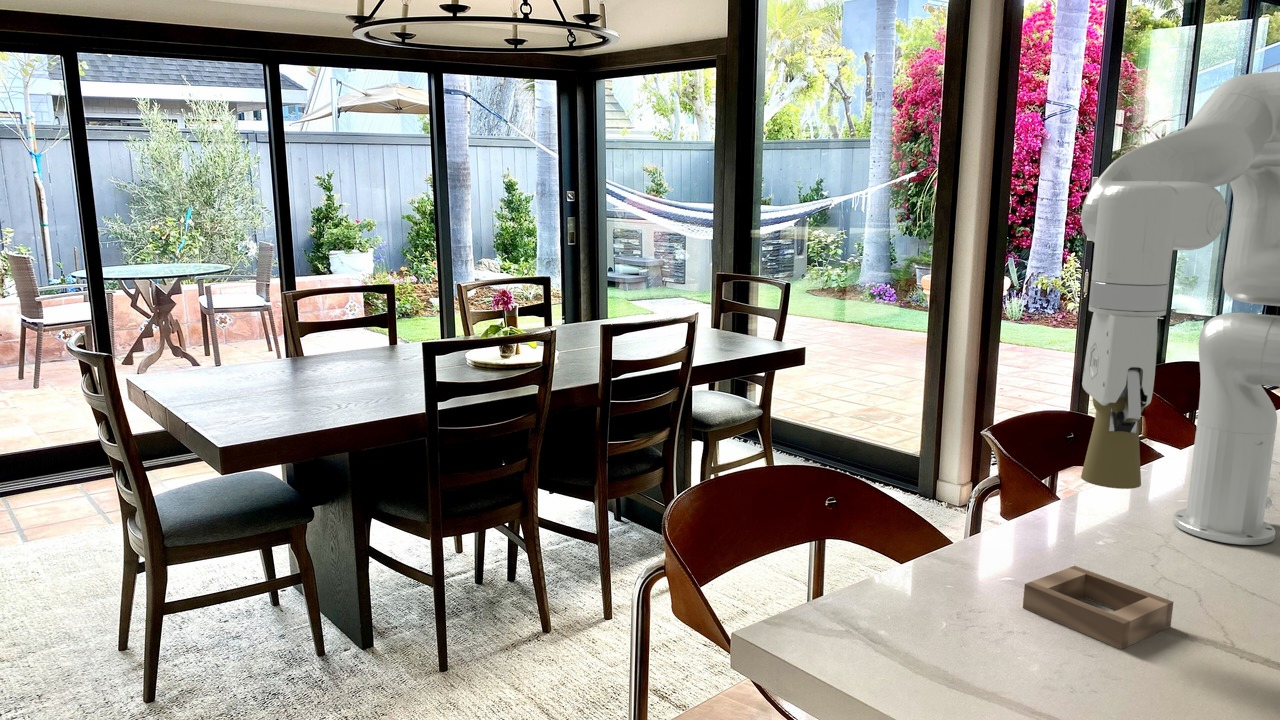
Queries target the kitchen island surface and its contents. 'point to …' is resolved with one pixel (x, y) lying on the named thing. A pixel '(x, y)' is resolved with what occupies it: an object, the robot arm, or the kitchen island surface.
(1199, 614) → the kitchen island surface
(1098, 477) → the tan rounded tapered piece
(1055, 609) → the walnut holder
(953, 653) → the kitchen island surface
